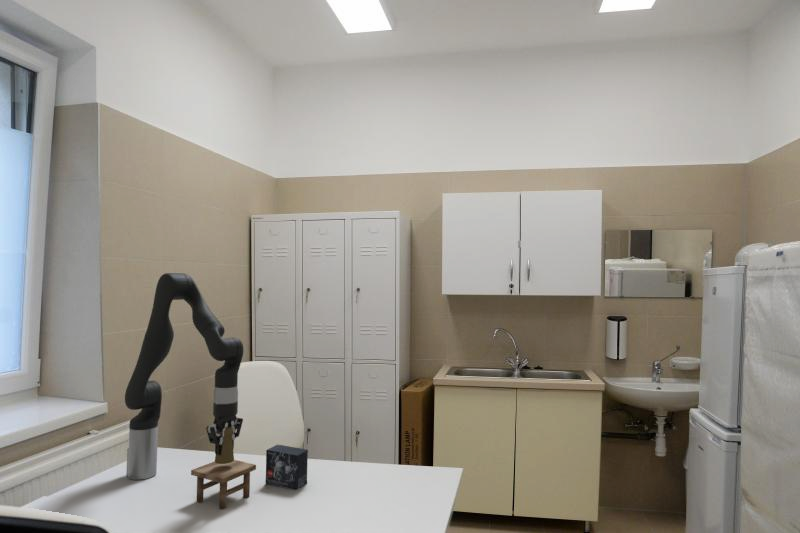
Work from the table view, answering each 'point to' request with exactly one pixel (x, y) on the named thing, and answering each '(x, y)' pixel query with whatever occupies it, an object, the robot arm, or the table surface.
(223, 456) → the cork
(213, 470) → the stool
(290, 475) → the small box
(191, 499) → the table surface
